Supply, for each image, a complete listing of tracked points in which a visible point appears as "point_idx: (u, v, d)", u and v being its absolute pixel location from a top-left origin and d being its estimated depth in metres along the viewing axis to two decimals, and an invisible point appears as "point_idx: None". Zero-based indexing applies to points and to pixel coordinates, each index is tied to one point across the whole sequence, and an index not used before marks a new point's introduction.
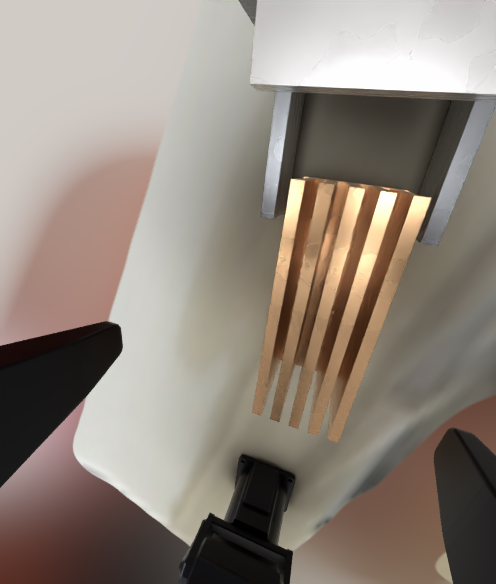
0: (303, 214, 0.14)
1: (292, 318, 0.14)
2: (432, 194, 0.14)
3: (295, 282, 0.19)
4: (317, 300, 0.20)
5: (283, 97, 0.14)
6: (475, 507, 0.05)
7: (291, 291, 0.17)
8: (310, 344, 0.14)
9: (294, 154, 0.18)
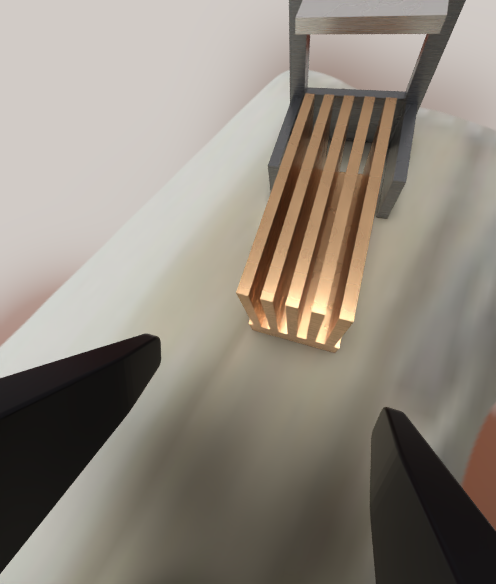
0: (307, 137, 0.18)
1: (300, 175, 0.15)
2: (391, 167, 0.20)
3: None
4: None
5: (293, 110, 0.22)
6: (391, 476, 0.05)
7: None
8: (316, 196, 0.14)
9: None
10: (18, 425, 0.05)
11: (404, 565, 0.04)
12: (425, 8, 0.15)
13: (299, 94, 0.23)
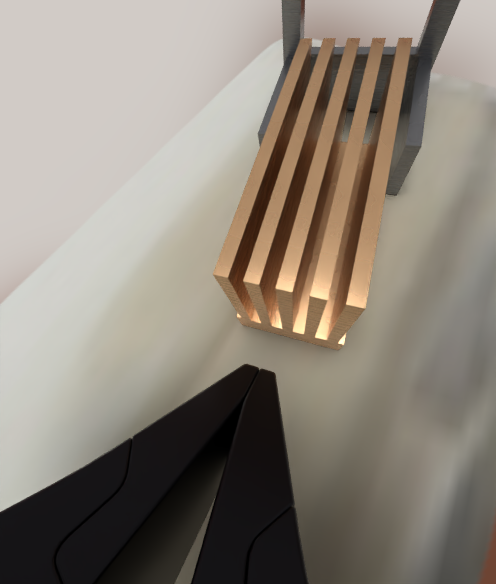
0: (303, 94, 0.15)
1: (294, 130, 0.12)
2: (402, 133, 0.17)
3: None
4: None
5: (287, 72, 0.19)
6: None
7: None
8: (315, 154, 0.11)
9: None
10: (174, 497, 0.04)
11: None
12: None
13: (294, 53, 0.20)
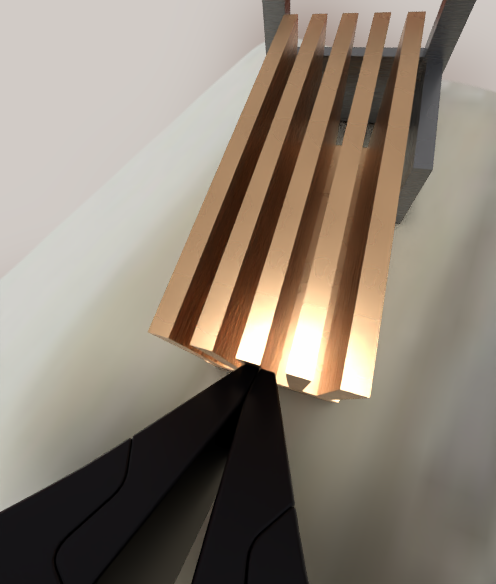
0: None
1: (272, 127, 0.09)
2: (407, 151, 0.14)
3: None
4: None
5: None
6: None
7: None
8: (298, 160, 0.08)
9: None
10: (174, 497, 0.04)
11: None
12: None
13: None
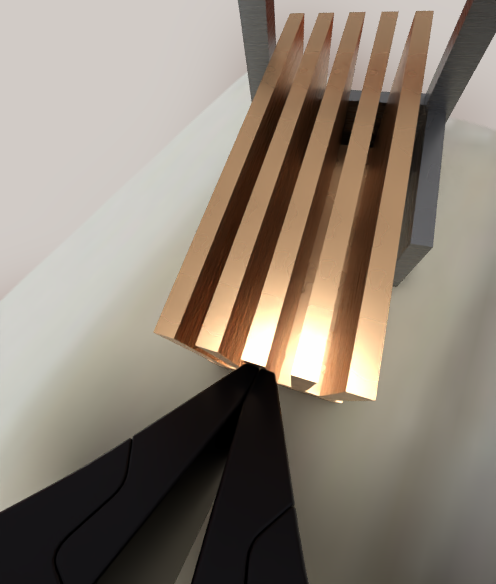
0: None
1: (277, 128, 0.09)
2: (405, 214, 0.13)
3: None
4: None
5: None
6: None
7: None
8: (304, 161, 0.08)
9: None
10: (174, 497, 0.04)
11: None
12: None
13: None
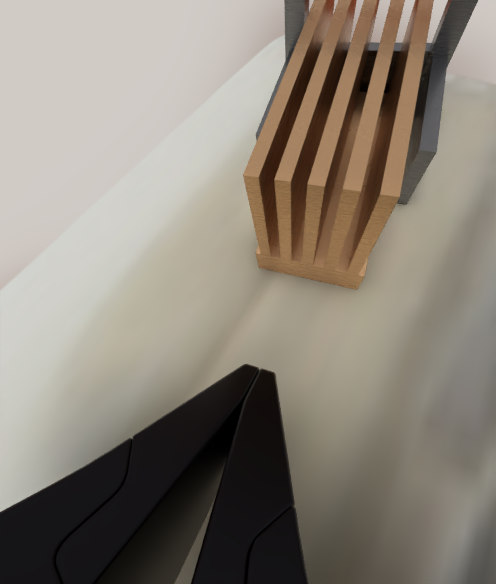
0: (327, 30, 0.15)
1: (322, 49, 0.12)
2: (414, 137, 0.16)
3: None
4: None
5: None
6: None
7: None
8: (344, 68, 0.11)
9: None
10: (174, 497, 0.04)
11: None
12: None
13: None
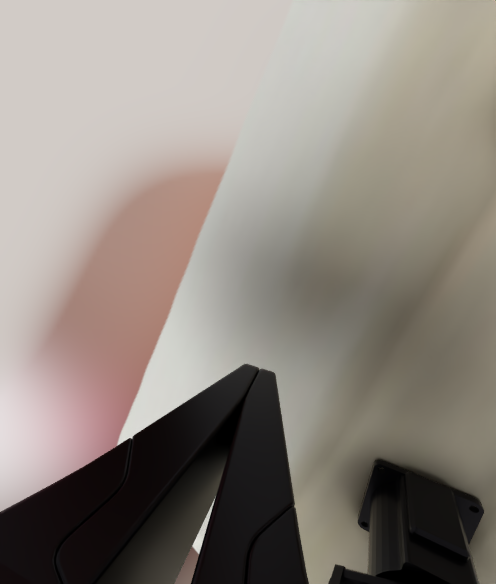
0: None
1: None
2: None
3: None
4: None
5: None
6: None
7: None
8: None
9: None
10: (174, 497, 0.04)
11: None
12: None
13: None
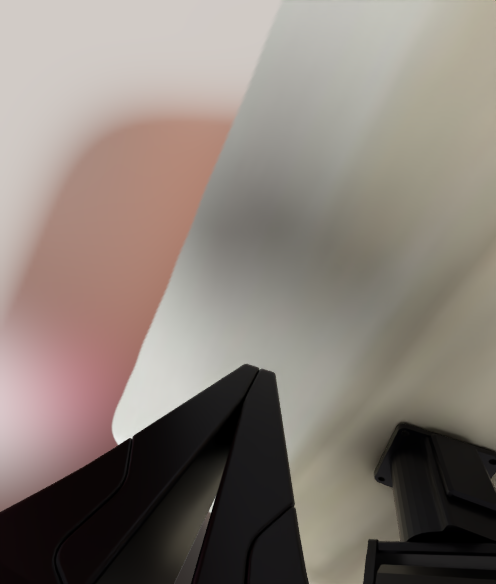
0: None
1: None
2: None
3: None
4: None
5: None
6: None
7: None
8: None
9: None
10: (174, 497, 0.04)
11: None
12: None
13: None
